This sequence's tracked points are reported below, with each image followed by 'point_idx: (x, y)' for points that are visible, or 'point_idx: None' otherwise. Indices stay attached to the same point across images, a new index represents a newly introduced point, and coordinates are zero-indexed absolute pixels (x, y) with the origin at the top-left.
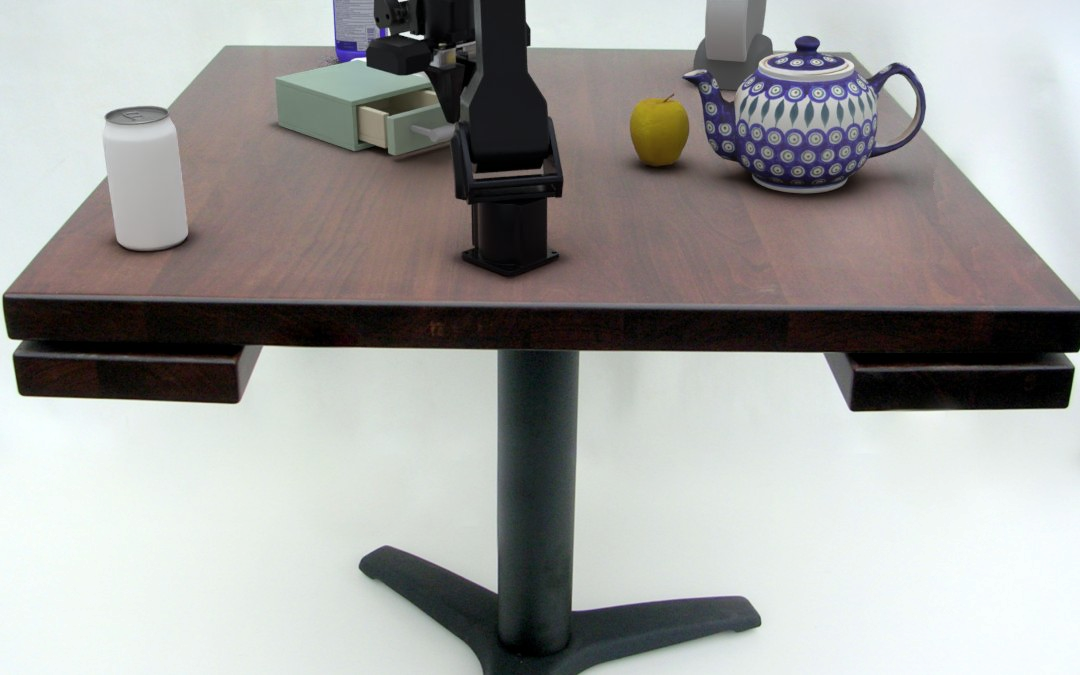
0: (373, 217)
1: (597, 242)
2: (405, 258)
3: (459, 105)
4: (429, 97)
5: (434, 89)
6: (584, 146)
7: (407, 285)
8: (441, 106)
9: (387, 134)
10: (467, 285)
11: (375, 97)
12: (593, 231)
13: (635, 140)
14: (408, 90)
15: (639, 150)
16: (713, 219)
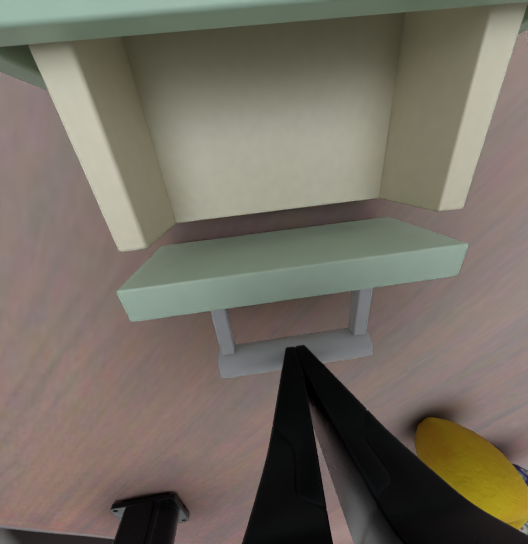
0: (52, 422)
1: (234, 502)
2: (61, 491)
3: (311, 417)
4: (454, 86)
5: (270, 444)
6: (453, 349)
7: (47, 517)
8: (280, 383)
9: (142, 265)
10: (98, 523)
11: (136, 23)
12: (247, 492)
13: (429, 462)
14: (407, 5)
15: (421, 449)
16: (334, 497)
